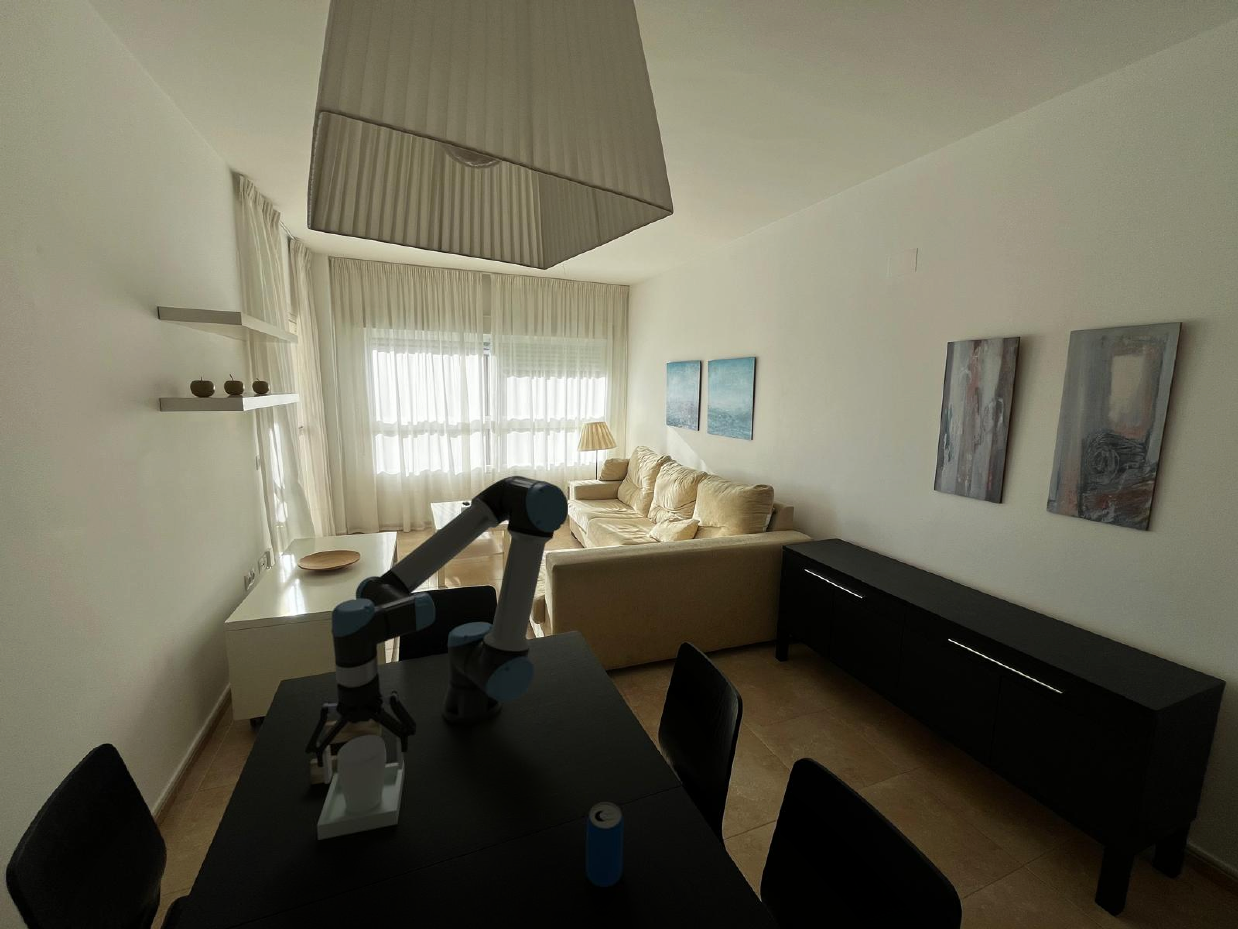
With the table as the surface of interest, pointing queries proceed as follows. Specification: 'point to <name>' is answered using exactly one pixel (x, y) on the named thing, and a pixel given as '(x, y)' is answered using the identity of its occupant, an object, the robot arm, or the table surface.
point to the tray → (384, 814)
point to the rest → (344, 735)
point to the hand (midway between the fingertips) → (365, 772)
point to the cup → (362, 772)
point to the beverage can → (604, 844)
